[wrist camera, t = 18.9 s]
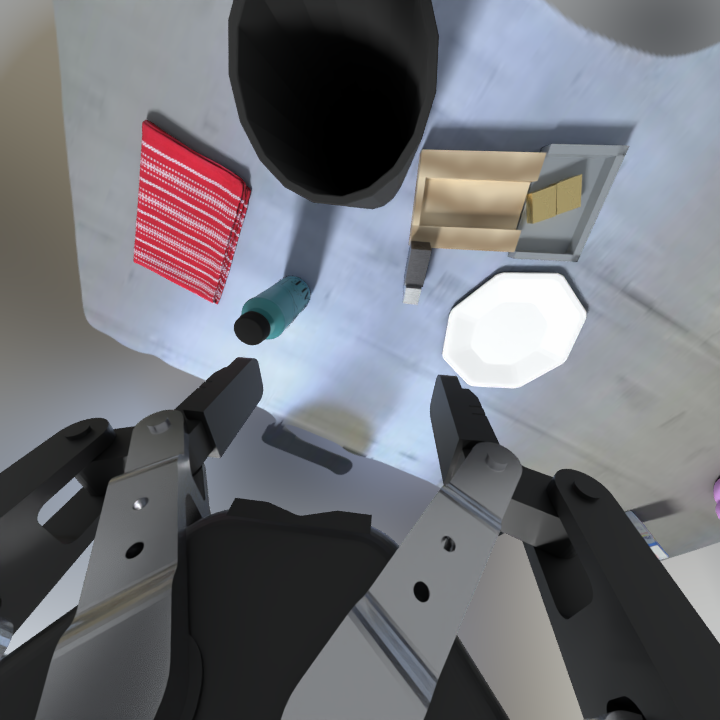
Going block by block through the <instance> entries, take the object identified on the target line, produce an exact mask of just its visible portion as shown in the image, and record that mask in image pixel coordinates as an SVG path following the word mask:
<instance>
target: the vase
mask: <svg viewBox="0 0 720 720" xmlns="http://www.w3.org/2000/svg"><path fill="white" fill-rule="evenodd" d="M228 37H229V78H230V82H231V86H232V90H233V94H234V98H235V103H236V107H237V111H238V115H239V119H240V123H241V125H242V127H243V128H244V130H245V132H246V134H247V136H248V138H249V140H250V142H251V144H252V146H253V148H254V150H255V152H256V154H257V156H258V158H259V160H260V161H261V162H262V163H263V164H264V165H265V166H266V167H267V168H268V170H269V171H270V172H271V173H272V174H273V175H274V176H275V177H276V178H277V179H278V180H279V181H280V182H281V184H282V185H283V186H284V187H285V188H287V189H289V190H291V191H293V192H295V193H297V194H298V195H300V196H302V197H304V198H306V199H308V200H310V201H311V202H314V203H322V204H331V205H340V206H348V207H357V208H366V209H375V208H378V207H382V206H384V205H385V204H387V203H388V202H389V201H390V200H392V199H393V198H394V196H395V195H396V193H397V192H398V190H399V189H400V187H401V185H402V183H403V181H404V178H405V176H406V174H407V171H408V169H409V167H410V165H411V162H412V160H413V158H414V155H415V153H416V151H417V149H418V146H419V144H420V142H421V139H422V136H423V133H424V130H425V126H426V123H427V120H428V117H429V113H430V110H431V107H432V103H433V100H434V97H435V94H436V83H437V62H438V41H439V35H438V30H437V25H436V20H435V16H434V11H433V6H432V2H431V0H233V4H232V8H231V12H230V16H229V20H228Z"/></svg>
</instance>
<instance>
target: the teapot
mask: <svg viewBox="0 0 720 720" xmlns="http://www.w3.org/2000/svg"><path fill="white" fill-rule="evenodd" d="M714 499H715V501H716V503H717V505H716V513H717V515H718V517H719V519H720V478H719V479H718V480H717V482H716V483H715V485H714Z"/></svg>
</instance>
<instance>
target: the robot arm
mask: <svg viewBox="0 0 720 720" xmlns="http://www.w3.org/2000/svg"><path fill="white" fill-rule="evenodd" d="M262 394H263V384H262V379H261V374H260V369H259V364H258V361H257V360H256V359H254V358H243V357H238V358H236V359H235V360H234V361H233V362H232V363H231V364H230V365H229V366H228V367H224V368H223V369H221V370H219V371H217V372H215V373H214V374H212V375H211V376H210V377H209V378H208V379H207V380H206V382H204V383H203V384H202V385H201V386H200V387H199V388H197V389H196V390H195V391H194V392H193V393H192V394H191V395H190V396H189V397H188V398H186V399H185V400H184V401H183V402H182V403H181V404H180V405H179V406H178V407H177V408H176V409H174V410H163V411H159V412H156V413H154V414H151V415H149V416H147V417H145V418H144V419H142V420H141V421H140V422H139V423H138V424H137V425H136V426H134V427H126V428H119V429H113V428H112V427H111V425H110V424H109V422H108V421H107V420H106V419H104V418H91V419H86V420H83V421H80V422H77V423H74V424H72V425H70V426H68V427H66V428H65V429H62V430H61V431H59V432H58V433H56V434H55V435H53V436H52V437H51V438H49V439H48V440H47V441H45V442H43V443H42V444H41V445H39V446H38V447H37V448H35V449H34V450H32V451H31V452H29V453H28V454H27V455H25V456H24V457H22V458H21V459H19V460H18V461H17V462H15V463H14V464H12V465H11V466H10V467H9V468H7V469H5V470H4V471H3V472H1V473H0V720H510V719H509V718H508V716H507V714H506V713H505V711H504V709H503V708H502V706H501V705H500V703H499V701H498V700H497V698H496V697H495V695H494V693H493V692H492V690H491V689H490V687H489V685H488V684H487V682H486V681H485V679H484V677H483V676H482V674H481V673H480V671H479V669H478V668H477V666H476V665H475V663H474V661H473V660H472V658H471V657H470V655H469V653H468V652H467V650H466V649H465V647H464V645H463V644H462V642H461V641H460V639H459V637H458V636H457V633H458V630H459V628H460V626H461V623H462V621H463V618H464V616H465V614H466V611H467V609H468V606H469V604H470V602H471V599H472V597H473V594H474V592H475V589H476V587H477V585H478V582H479V580H480V578H481V575H482V573H483V570H484V568H485V566H486V563H487V561H488V558H489V556H490V554H491V551H492V549H493V546H494V544H495V542H496V539H497V537H498V534H499V532H500V531H501V532H504V533H506V534H508V535H510V536H512V537H515V538H517V539H520V540H521V541H522V542H523V544H524V547H525V550H526V553H527V556H528V559H529V562H530V565H531V567H532V570H533V573H534V576H535V579H536V582H537V585H538V588H539V591H540V593H541V596H542V599H543V602H544V605H545V607H546V611H547V613H548V617H549V619H550V622H551V625H552V628H553V631H554V634H555V637H556V640H557V642H558V645H559V648H560V651H561V654H562V657H563V660H564V662H565V665H566V668H567V671H568V674H569V677H570V680H571V683H572V686H573V689H574V691H575V694H576V697H577V700H578V703H579V706H580V709H581V712H582V715H583V717H584V720H720V644H719V642H718V641H717V640H716V638H715V637H714V635H713V634H712V633H711V631H710V630H709V628H708V627H707V626H706V624H705V623H704V622H703V620H702V619H701V617H700V616H699V615H698V613H697V612H696V610H695V609H694V608H693V606H692V605H691V604H690V602H689V601H688V599H687V598H686V597H685V595H684V594H683V592H682V591H681V590H680V588H679V587H678V585H677V584H676V583H675V581H674V580H673V579H672V577H671V576H670V574H669V573H668V572H667V570H666V569H665V567H664V566H663V565H662V563H661V562H660V560H659V559H658V558H657V556H656V555H655V554H654V552H653V551H652V549H651V548H650V547H649V545H648V544H647V542H646V541H645V540H644V538H643V537H642V536H641V534H640V533H639V531H638V530H637V529H636V527H635V526H634V524H633V523H632V522H631V520H630V519H629V517H628V516H627V515H626V513H625V512H624V511H623V509H622V508H621V506H620V505H619V504H618V502H617V501H616V499H615V498H614V497H613V495H612V494H611V493H610V492H609V491H608V490H607V489H606V488H605V487H604V486H603V485H602V484H601V483H599V482H598V481H597V480H595V479H594V478H592V477H590V476H588V475H586V474H584V473H582V472H579V471H576V470H572V469H562V470H559V471H557V473H556V474H555V475H554V477H551V476H548V475H545V474H542V473H540V472H537V471H534V470H531V469H528V468H526V467H524V466H522V465H521V463H520V461H519V459H518V458H517V457H516V456H515V455H514V454H513V453H512V452H511V451H510V450H508V449H507V448H505V447H504V446H501V445H500V444H499V442H498V440H497V438H496V436H495V433H494V431H493V429H492V427H491V425H490V423H489V421H488V419H487V416H485V412H484V410H483V408H482V406H481V404H480V402H479V399H478V397H477V396H476V395H475V394H473V393H472V392H471V391H470V390H469V389H463V388H461V385H460V383H459V380H458V378H457V376H448V375H438V376H437V378H436V382H435V386H434V391H433V395H432V399H431V404H430V418H431V423H432V428H433V433H434V438H435V443H436V448H437V453H438V458H439V463H440V469H441V474H442V479H443V484H444V485H443V486H442V487H441V489H440V490H439V491H438V493H437V494H436V496H435V497H434V498H433V500H432V501H431V503H430V504H429V506H428V507H427V509H426V510H425V511H424V513H423V514H422V516H421V517H420V518H419V520H418V521H417V523H416V524H415V525H414V527H413V528H412V530H411V531H410V532H409V534H408V535H407V537H406V538H405V540H404V541H403V542H402V544H401V545H400V546H399V545H398V544H397V543H396V542H395V541H394V540H392V539H391V538H390V537H389V536H388V535H386V534H385V533H383V532H382V531H380V530H378V529H376V528H374V527H372V526H371V517H372V515H367V514H358V513H351V512H343V511H332V512H325V513H318V514H311V515H304V516H299V515H295V514H293V513H291V512H289V511H287V510H284V509H282V508H280V507H277V506H276V505H273V504H271V503H269V502H263V501H255V500H247V499H240V498H235V500H234V501H233V503H232V505H231V507H230V509H229V510H224V511H221V512H217V513H214V514H211V512H210V506H209V497H208V487H207V478H206V468H205V464H204V461H205V460H206V459H207V457H216V458H221V457H222V455H223V454H224V452H225V451H226V449H227V448H228V446H229V445H230V444H231V442H232V440H233V439H234V438H235V436H236V435H237V433H238V432H239V430H240V429H241V427H242V426H243V425H244V423H245V422H246V420H247V419H248V417H249V416H250V414H251V413H252V411H253V410H254V409H255V407H256V406H257V404H258V403H259V401H260V400H261V398H262ZM74 477H75V478H76V479H77V480H78V481H79V483H80V484H81V485H82V486H83V488H82V489H80V490H79V491H78V492H77V493H76V494H75V495H74V496H73V497H72V498H71V499H70V500H69V501H68V502H67V503H66V504H65V505H64V506H63V507H62V508H61V509H60V510H59V511H58V512H56V513H55V514H54V515H53V516H52V517H51V518H50V519H49V520H48V521H47V522H46V523H45V524H44V525H43V526H41V525H40V524H39V523H38V521H37V516H38V513H39V511H40V509H41V508H42V506H43V505H44V504H45V503H46V502H47V501H48V500H49V499H50V498H51V497H53V496H54V495H55V494H56V493H57V492H58V491H59V490H60V489H61V488H63V487H64V486H65V485H66V484H67V483H68V482H69V481H70V480H72V478H74ZM93 540H94V544H93V548H92V552H91V556H90V560H89V564H88V568H87V572H86V576H85V580H84V584H83V588H82V592H81V596H80V600H79V604H78V605H77V606H76V607H74V608H73V609H72V610H70V611H69V612H67V613H66V614H65V615H63V616H62V617H60V618H59V619H58V620H56V621H55V622H53V623H52V624H51V625H49V626H48V627H46V628H45V629H44V630H42V631H41V632H39V633H38V634H36V635H35V636H34V637H32V638H31V639H30V640H28V641H27V642H25V643H24V644H22V645H21V646H20V647H18V648H17V649H15V650H14V651H13V652H11V653H10V654H8V655H7V654H5V653H4V652H5V650H6V649H7V647H8V645H9V643H10V640H11V638H12V636H13V634H14V633H15V632H16V631H17V630H18V629H19V627H20V626H21V625H22V624H23V623H24V621H25V620H26V619H27V618H28V617H29V616H30V614H31V613H32V612H33V611H34V610H35V608H36V607H37V606H38V605H39V604H40V602H41V601H42V600H43V599H44V598H45V596H46V595H47V594H48V593H49V592H50V591H51V589H52V588H53V587H54V586H55V585H56V584H57V582H58V581H59V580H60V579H61V577H62V576H63V575H64V574H65V573H66V571H67V570H68V569H69V568H70V567H71V566H72V565H73V563H74V562H75V561H76V560H77V559H78V557H79V556H80V555H81V554H82V553H83V552H84V550H85V549H86V548H87V547H88V546H89V545H90V543H91V542H92V541H93Z"/></svg>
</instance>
